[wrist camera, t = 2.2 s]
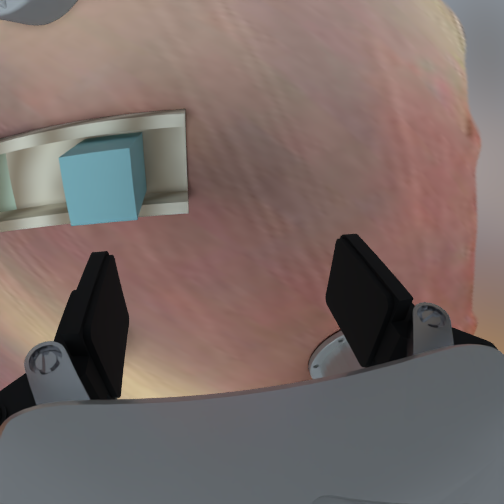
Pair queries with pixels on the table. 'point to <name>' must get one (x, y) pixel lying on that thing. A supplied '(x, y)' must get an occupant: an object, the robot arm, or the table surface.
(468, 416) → the robot arm
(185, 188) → the twin rail frame
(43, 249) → the table surface
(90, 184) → the block
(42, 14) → the lumpy-topped squat cylinder
